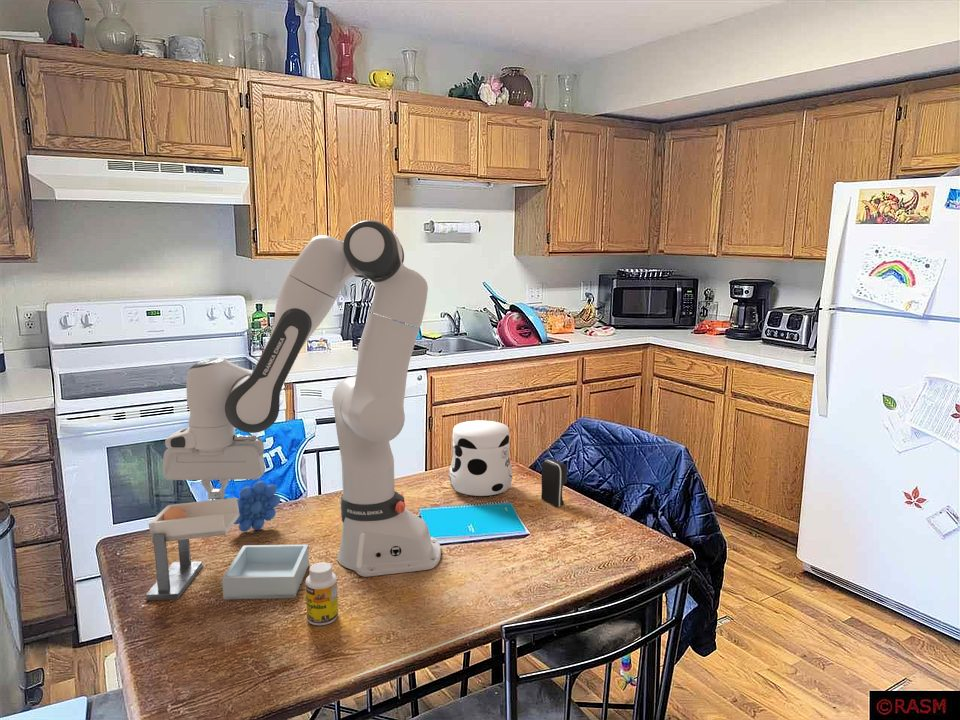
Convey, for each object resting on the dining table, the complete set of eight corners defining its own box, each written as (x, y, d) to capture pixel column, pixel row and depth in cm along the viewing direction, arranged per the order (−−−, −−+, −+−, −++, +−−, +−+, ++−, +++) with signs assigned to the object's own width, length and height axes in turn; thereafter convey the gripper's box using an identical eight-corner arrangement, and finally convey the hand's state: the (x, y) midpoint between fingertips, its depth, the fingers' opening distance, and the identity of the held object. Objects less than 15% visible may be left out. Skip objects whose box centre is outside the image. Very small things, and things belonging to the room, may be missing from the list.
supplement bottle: (301, 624, 120) (298, 571, 118) (317, 608, 125) (315, 557, 123) (328, 629, 118) (326, 576, 116) (343, 613, 124) (341, 562, 122)
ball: (192, 512, 134) (176, 499, 133) (185, 520, 130) (168, 507, 129) (180, 526, 134) (164, 513, 133) (172, 534, 130) (155, 522, 129)
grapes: (277, 518, 165) (274, 472, 163) (284, 528, 159) (281, 480, 157) (227, 528, 159) (224, 480, 157) (233, 539, 153) (230, 490, 151)
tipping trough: (250, 501, 144) (247, 483, 143) (225, 534, 128) (221, 515, 127) (185, 508, 144) (182, 491, 143) (152, 543, 128) (148, 523, 127)
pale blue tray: (309, 563, 142) (308, 544, 141) (294, 598, 129) (293, 576, 128) (244, 565, 141) (243, 545, 140) (223, 599, 128) (221, 578, 127)
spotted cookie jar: (524, 490, 184) (526, 427, 180) (481, 508, 171) (482, 441, 168) (479, 474, 195) (479, 415, 192) (436, 490, 183) (435, 428, 180)
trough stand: (202, 566, 141) (198, 508, 138) (178, 599, 128) (172, 536, 125) (173, 567, 140) (168, 509, 138) (146, 600, 128) (140, 537, 125)
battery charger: (568, 505, 173) (569, 463, 171) (557, 508, 171) (558, 466, 169) (551, 496, 179) (552, 456, 177) (540, 499, 177) (541, 458, 175)
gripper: (267, 431, 142) (270, 492, 145) (169, 431, 141) (174, 492, 144) (258, 439, 136) (262, 503, 138) (156, 440, 135) (162, 504, 137)
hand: (216, 498), depth 141 cm, fingers closed
